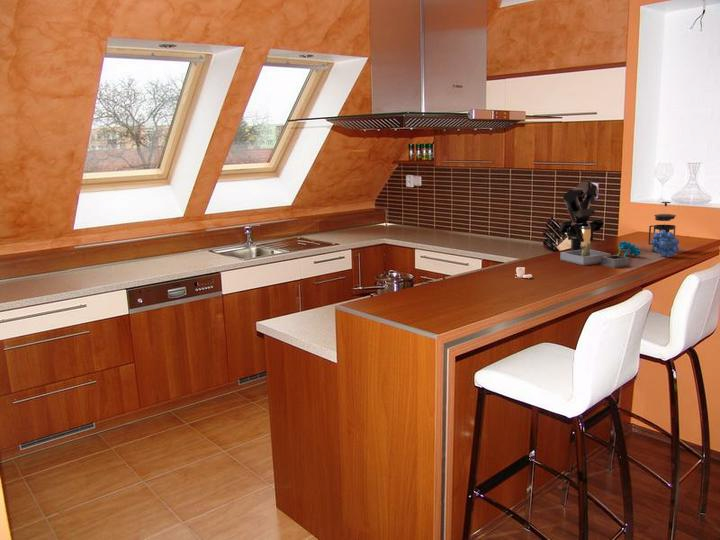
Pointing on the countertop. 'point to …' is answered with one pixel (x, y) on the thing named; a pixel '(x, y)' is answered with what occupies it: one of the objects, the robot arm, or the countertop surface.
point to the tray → (583, 257)
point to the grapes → (665, 243)
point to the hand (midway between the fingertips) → (587, 241)
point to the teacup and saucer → (522, 272)
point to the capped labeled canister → (585, 240)
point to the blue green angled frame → (628, 249)
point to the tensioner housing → (615, 261)
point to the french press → (662, 227)
